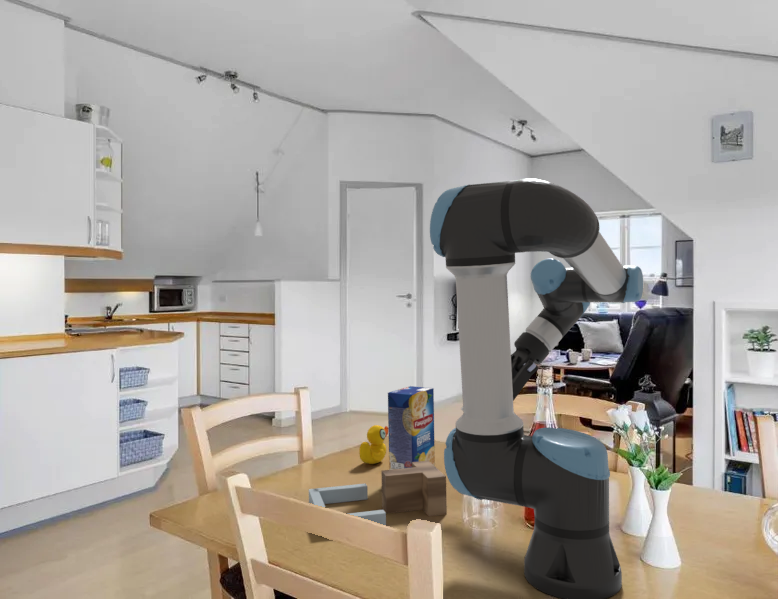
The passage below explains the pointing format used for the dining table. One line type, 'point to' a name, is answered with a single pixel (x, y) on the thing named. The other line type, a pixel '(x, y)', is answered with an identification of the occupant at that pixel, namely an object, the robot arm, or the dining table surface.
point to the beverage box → (411, 426)
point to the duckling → (374, 445)
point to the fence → (346, 499)
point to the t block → (414, 489)
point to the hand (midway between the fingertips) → (472, 416)
